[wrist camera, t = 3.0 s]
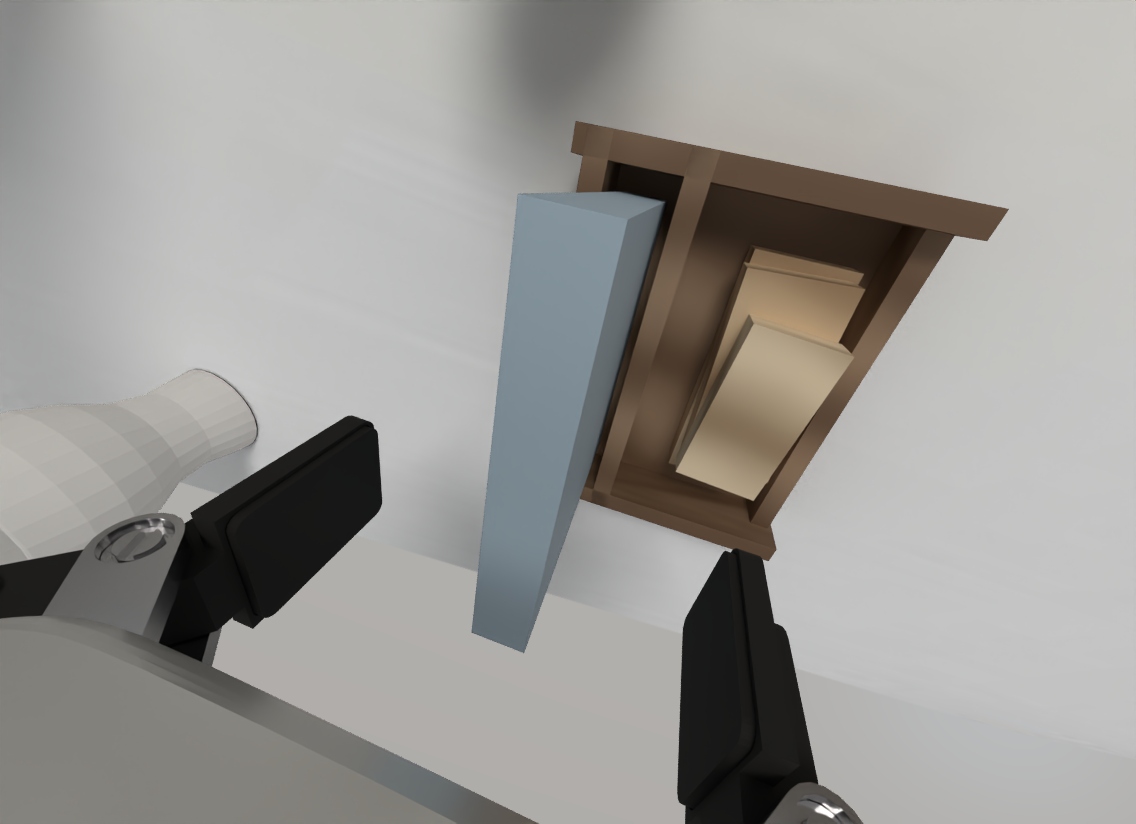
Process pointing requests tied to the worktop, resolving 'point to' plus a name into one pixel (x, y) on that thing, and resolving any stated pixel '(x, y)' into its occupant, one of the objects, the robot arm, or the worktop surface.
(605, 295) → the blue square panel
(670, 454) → the block
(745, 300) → the offcut middle
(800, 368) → the offcut top
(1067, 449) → the worktop surface
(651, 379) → the rack
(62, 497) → the cup
